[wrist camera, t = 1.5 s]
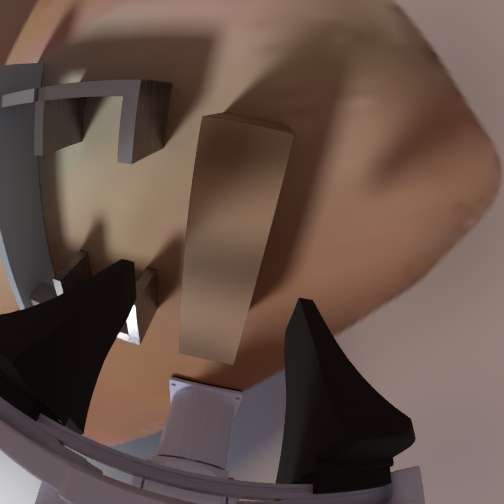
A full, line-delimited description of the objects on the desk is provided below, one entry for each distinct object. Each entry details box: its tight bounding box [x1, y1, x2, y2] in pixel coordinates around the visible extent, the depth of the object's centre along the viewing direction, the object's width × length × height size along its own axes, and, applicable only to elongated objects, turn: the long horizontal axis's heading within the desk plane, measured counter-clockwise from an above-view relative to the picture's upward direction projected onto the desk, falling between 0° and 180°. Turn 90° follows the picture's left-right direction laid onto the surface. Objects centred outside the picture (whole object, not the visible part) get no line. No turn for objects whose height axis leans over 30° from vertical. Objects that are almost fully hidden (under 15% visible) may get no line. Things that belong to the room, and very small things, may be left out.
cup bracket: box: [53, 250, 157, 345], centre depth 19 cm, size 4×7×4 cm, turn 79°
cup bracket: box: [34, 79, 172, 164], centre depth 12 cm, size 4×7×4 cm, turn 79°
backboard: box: [0, 63, 57, 310], centre depth 15 cm, size 21×5×5 cm, turn 169°
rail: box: [179, 112, 295, 365], centre depth 15 cm, size 14×4×5 cm, turn 168°
